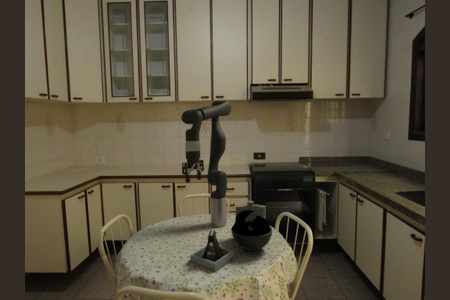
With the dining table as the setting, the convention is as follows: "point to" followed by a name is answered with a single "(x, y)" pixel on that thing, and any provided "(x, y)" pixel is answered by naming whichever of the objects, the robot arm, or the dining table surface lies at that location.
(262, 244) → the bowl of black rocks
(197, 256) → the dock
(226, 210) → the robot arm
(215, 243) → the phone stand
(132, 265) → the dining table surface
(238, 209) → the hip flask
